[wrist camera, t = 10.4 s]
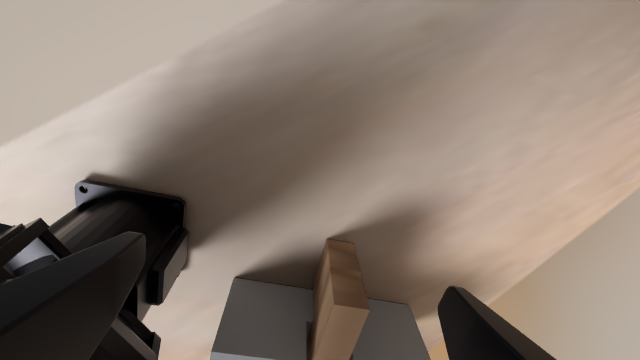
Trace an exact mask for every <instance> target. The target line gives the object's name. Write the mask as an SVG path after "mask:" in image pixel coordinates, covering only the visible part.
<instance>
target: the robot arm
mask: <svg viewBox="0 0 640 360" xmlns="http://www.w3.org/2000/svg"><path fill="white" fill-rule="evenodd" d="M83 186H84V187H86V188H87V189H88V190H85V189H84V187H83ZM75 198H76V208H75V209H73V210H72V211H71V212H69V213H68V214H66V215H65V216H63V217H62V218H61V219H59V220H58V221H56V222H55V223H54V224H52V225H51V226H48V225H47V224H46V223H45V222H44V221H43V220H42V219H41V218H39V219H37V220H35V221H33V222H31V223H28V224H26V225H23V224H19V225H17V226H15V225H14V226H9V225H5V224H1V223H0V360H158V355H159V349H160V343H161V338H160V337H159V336H158V335H157V334H156V333H155V332H151V331H150V330H149V329H148V328H147V327H146V326H145V325H144V324H143V323H142V320H143V318H144V317H145V315H146V313H147V312H148V310H149V308H150V307H151V305H157V306H159V305H160V304H161V303H163V302H164V300H165V298H166V296H167V294H168V293H169V291H170V289H171V287H172V285H173V284H174V282H175V280H176V278H177V277H178V276H179V274H180V273H181V269H182V267H183V266H184V264H185V262H186V259H187V248H188V237H189V232H188V230H187V229H186V228H185V217H186V202H185V200H184V199H183V198H180V197H176V196H171V195H165V194H160V193H155V192H149V191H144V190H139V189H133V188H128V187H123V186H117V185H112V184H107V183H101V182H96V181H91V180H82V181H80V182H79V183H77V184H76V185H75ZM175 203H177V204H179V205H180V207H177V206H176V205H175ZM438 315H439V319H440V324H441V328H442V332H443V336H444V340H445V344H446V348H447V352H448V356H449V360H556V359H555V358H554V357H552V356H551V355H549V354H548V353H547V352H546V351H545V350H543V349H542V348H541V347H539V346H538V345H537V344H536V343H534V342H533V341H532V340H530V339H529V338H528V337H526V336H525V335H524V334H522V333H521V332H520V331H519V330H517V329H516V328H515V327H513V326H512V325H511V324H510V323H508V322H507V321H506V320H504V319H503V318H502V317H500V316H499V315H498V314H496V313H495V312H494V311H493V310H491V309H490V308H489V307H488V306H486V305H485V304H484V303H482V302H481V301H480V300H479V299H477V298H476V297H475V296H473V295H472V294H471V293H469V292H468V291H467V290H466V289H464V288H462V287H457V286H449V287H448V288H447V289H446V291H445V293H444V295H443V297H442V299H441V301H440V302H439V305H438Z"/></svg>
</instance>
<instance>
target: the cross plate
mask: <svg viewBox="0 0 640 360" xmlns="http://www.w3.org/2000/svg"><path fill="white" fill-rule="evenodd" d="M313 305H314V318H313V321H312V324H311V327H310V330H309V333H308V336H307V340H306V360H349V359H350V356H351V354H352V352H353V349H354V347H355V344H356V342H357V340H358V337H359V335H360V332H361V330H362V328H363V325H364V323H365V320H366V318H367V316H368V313H369V311H370V309H369V305H368V301H367V296H366V292H365V288H364V284H363V280H362V276H361V272H360V267H359V263H358V259H357V255H356V251H355V247H354V244H353V243H347V242H342V241H336V240H331V239H327V240H326V243H325V247H324V250H323V253H322V256H321V260H320V263H319V266H318V270H317V273H316V276H315V279H314V283H313Z"/></svg>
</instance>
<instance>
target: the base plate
mask: <svg viewBox="0 0 640 360" xmlns="http://www.w3.org/2000/svg"><path fill="white" fill-rule="evenodd" d="M367 301H368V305H369V309H370V311H369V313H368V316H367V318H366V320H365V323H364V325H363V328H362V330H361V332H360V335H359V337H358V340H357V342H356V344H355V347H354V349H353V352H352V354H351V356H350V359H349V360H431V359H430V357H429V354H428V352H427V349H426V346H425V344H424V341H423V339H422V336H421V334H420V331H419V329H418V326H417V324H416V321H415V319H414V316H413V314H412V311H411V309H410V306H409V305H406V304H400V303H393V302H387V301H380V300H374V299H368V298H367ZM313 318H314V305H313V290H310V289H304V288H297V287H291V286H285V285H278V284H272V283H265V282H259V281H253V280H246V279H240V278H234V279H233V283H232V286H231V289H230V292H229V296H228V299H227V302H226V305H225V309H224V312H223V315H222V318H221V322H220V325H219V328H218V331H217V335H216V338H215V341H214V344H213V348H212V351H211V357H210V360H306V340H307V336H308V333H309V330H310V327H311V324H312V321H313Z"/></svg>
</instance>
